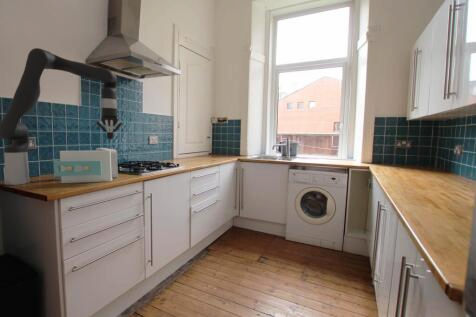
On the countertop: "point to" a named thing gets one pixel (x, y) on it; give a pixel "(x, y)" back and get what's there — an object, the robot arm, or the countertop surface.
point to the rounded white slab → (112, 161)
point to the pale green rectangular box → (87, 156)
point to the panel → (93, 169)
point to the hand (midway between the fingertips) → (110, 139)
